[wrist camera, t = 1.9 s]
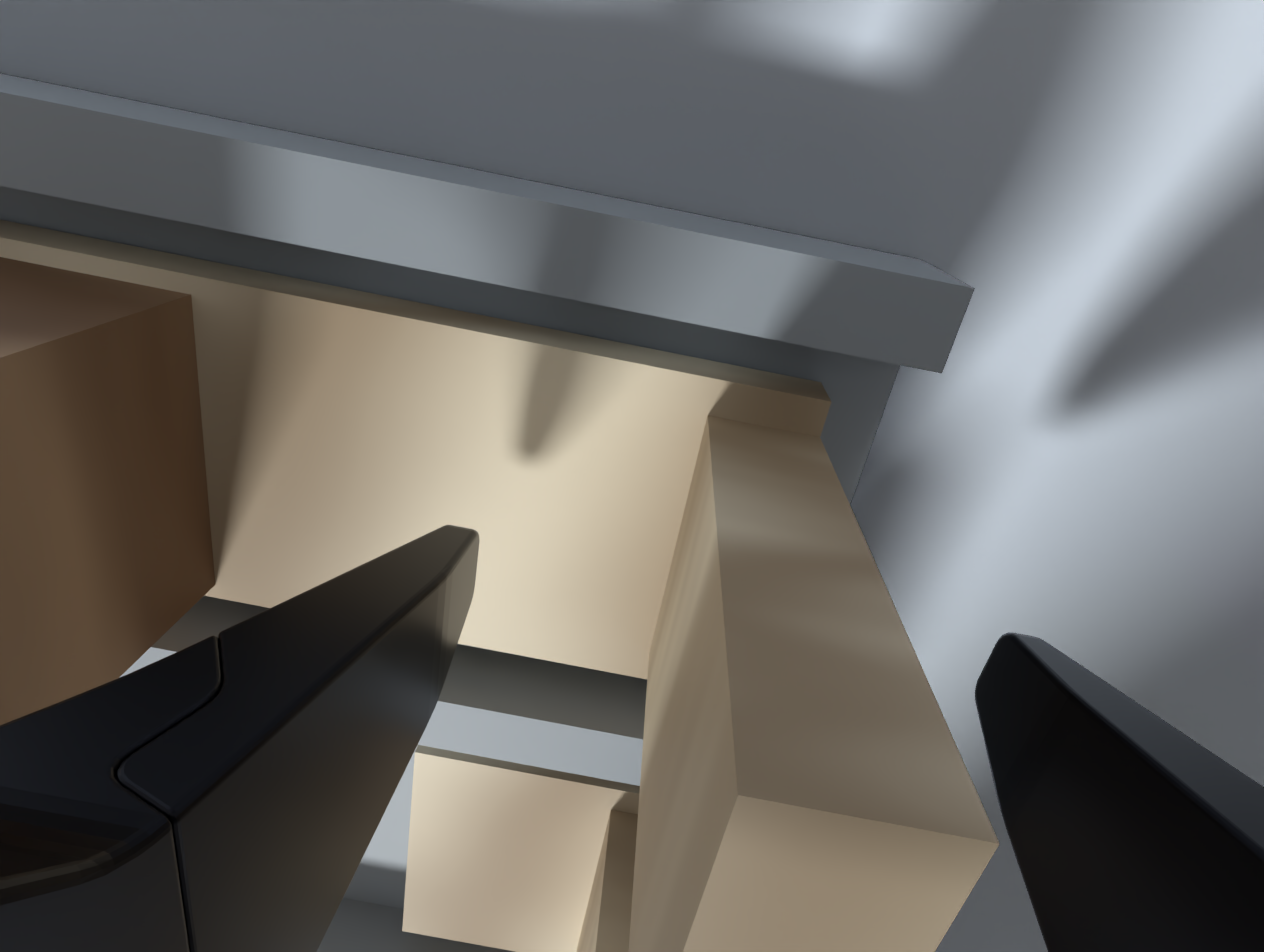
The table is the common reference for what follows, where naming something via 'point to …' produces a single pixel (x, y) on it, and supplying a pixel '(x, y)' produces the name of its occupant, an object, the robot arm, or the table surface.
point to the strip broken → (519, 855)
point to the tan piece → (604, 577)
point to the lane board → (491, 286)
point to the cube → (94, 479)
